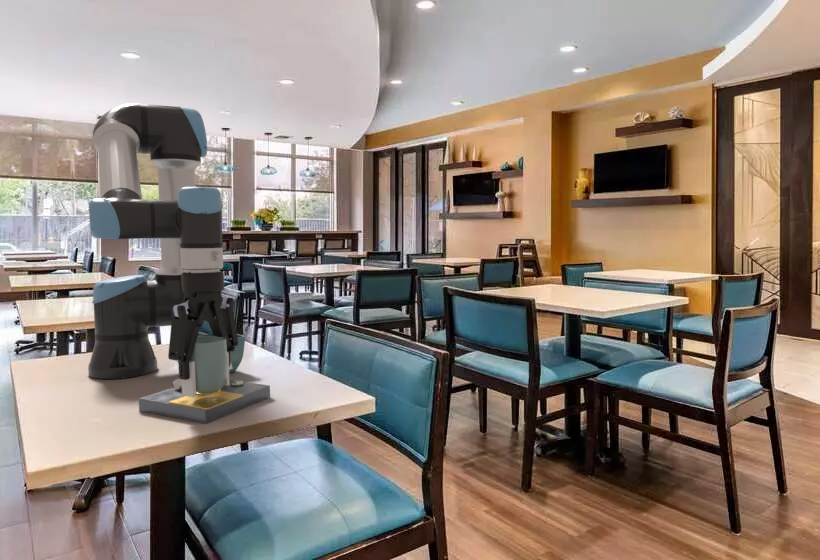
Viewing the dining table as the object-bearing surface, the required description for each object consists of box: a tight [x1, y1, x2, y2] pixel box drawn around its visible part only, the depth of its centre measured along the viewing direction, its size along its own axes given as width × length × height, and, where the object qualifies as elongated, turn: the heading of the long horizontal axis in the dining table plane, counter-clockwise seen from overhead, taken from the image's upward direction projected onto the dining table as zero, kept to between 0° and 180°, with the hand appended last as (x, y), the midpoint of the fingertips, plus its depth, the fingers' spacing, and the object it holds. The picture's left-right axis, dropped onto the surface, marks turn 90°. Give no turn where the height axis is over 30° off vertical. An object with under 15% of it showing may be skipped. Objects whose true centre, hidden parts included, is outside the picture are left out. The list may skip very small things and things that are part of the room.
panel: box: [138, 379, 271, 425], centre depth 116 cm, size 17×18×3 cm
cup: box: [184, 335, 227, 394], centre depth 110 cm, size 8×8×10 cm
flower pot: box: [197, 333, 246, 374], centre depth 141 cm, size 9×9×9 cm
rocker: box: [172, 377, 182, 389], centre depth 117 cm, size 7×3×2 cm, turn 63°
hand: (206, 389), depth 110 cm, fingers closed on cup, 8 cm apart
